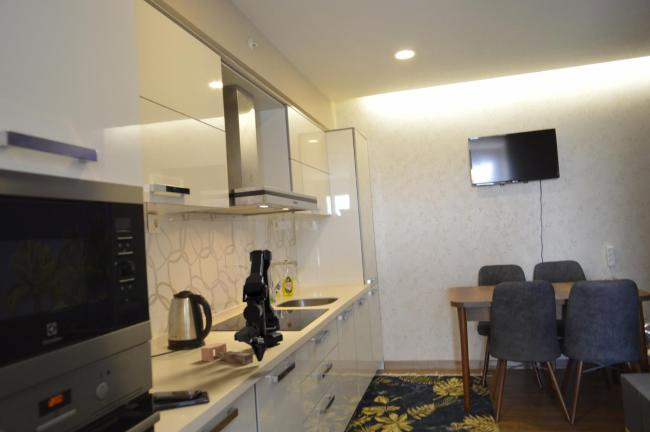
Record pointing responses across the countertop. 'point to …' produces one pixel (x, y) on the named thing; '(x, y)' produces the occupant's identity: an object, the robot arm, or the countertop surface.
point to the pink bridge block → (208, 351)
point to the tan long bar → (236, 357)
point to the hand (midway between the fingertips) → (259, 361)
